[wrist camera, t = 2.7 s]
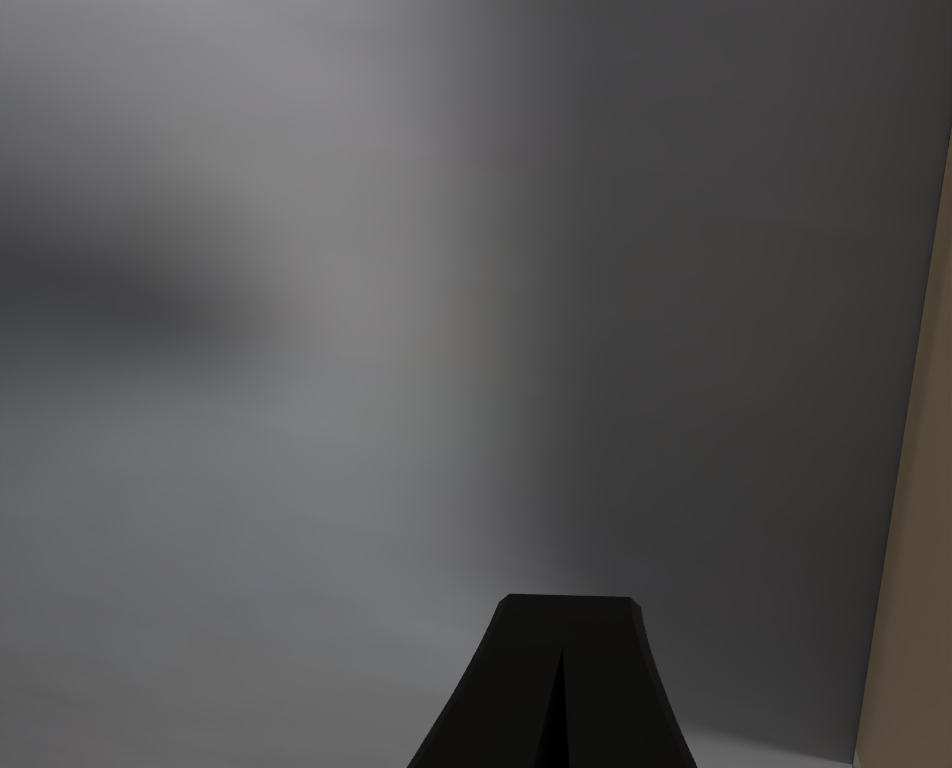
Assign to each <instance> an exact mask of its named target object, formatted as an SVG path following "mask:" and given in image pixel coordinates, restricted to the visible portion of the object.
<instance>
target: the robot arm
mask: <svg viewBox="0 0 952 768" xmlns="http://www.w3.org/2000/svg"><path fill="white" fill-rule="evenodd" d="M407 768H697V766H696V763H695V761H694V759H693V757H692V755H691V752H690V750H689V748H688V746H687V744H686V741H685V739H684V737H683V735H682V733H681V730H680V728H679V725H678V723H677V721H676V718H675V716H674V713H673V711H672V708H671V706H670V703H669V701H668V698H667V695H666V693H665V690H664V687H663V685H662V682H661V679H660V677H659V674H658V671H657V668H656V665H655V662H654V659H653V656H652V653H651V649H650V646H649V643H648V639H647V635H646V631H645V627H644V623H643V617H642V611H641V607H640V606H639V605H638V604H637V603H636V602H635V601H634V600H633V599H631V598H630V597H607V596H571V595H536V594H508V595H507V596H506V597H505V598H504V599H502V600H501V601H500V602H499V604H498V606H497V608H496V611H495V613H494V615H493V618H492V620H491V622H490V624H489V626H488V628H487V630H486V632H485V634H484V637H483V639H482V641H481V643H480V645H479V647H478V648H477V650H476V652H475V654H474V656H473V658H472V660H471V662H470V664H469V665H468V667H467V669H466V671H465V672H464V674H463V676H462V678H461V680H460V681H459V683H458V685H457V687H456V689H455V690H454V692H453V694H452V696H451V697H450V699H449V701H448V702H447V704H446V705H445V707H444V709H443V710H442V712H441V714H440V715H439V717H438V718H437V720H436V722H435V723H434V725H433V727H432V728H431V730H430V731H429V733H428V735H427V736H426V738H425V740H424V741H423V743H422V744H421V746H420V748H419V749H418V751H417V753H416V754H415V756H414V757H413V759H412V760H411V762H410V763H409V765H408V766H407Z"/></svg>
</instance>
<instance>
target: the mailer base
mask: <svg viewBox="0 0 952 768" xmlns="http://www.w3.org/2000/svg"><path fill="white" fill-rule="evenodd" d="M853 768H952V128H951V134H950V141H949V147H948V153H947V160H946V166H945V173H944V179H943V186H942V192H941V199H940V205H939V212H938V218H937V225H936V231H935V237H934V244H933V250H932V257H931V263H930V270H929V276H928V283H927V289H926V296H925V302H924V309H923V315H922V322H921V328H920V334H919V341H918V347H917V354H916V360H915V367H914V373H913V380H912V386H911V393H910V399H909V406H908V412H907V418H906V425H905V431H904V438H903V444H902V451H901V457H900V464H899V470H898V477H897V483H896V490H895V496H894V503H893V509H892V515H891V522H890V528H889V535H888V541H887V548H886V554H885V561H884V567H883V574H882V580H881V587H880V593H879V599H878V606H877V612H876V619H875V625H874V632H873V638H872V645H871V651H870V658H869V664H868V671H867V677H866V683H865V690H864V696H863V703H862V709H861V716H860V722H859V729H858V735H857V742H856V748H855V755H854V761H853Z"/></svg>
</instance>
